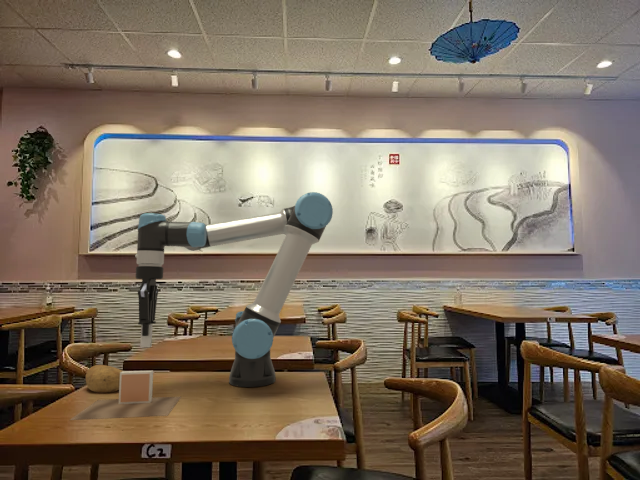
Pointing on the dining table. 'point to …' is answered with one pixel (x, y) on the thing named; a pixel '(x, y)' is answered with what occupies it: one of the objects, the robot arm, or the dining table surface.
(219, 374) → the dining table surface
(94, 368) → the potato
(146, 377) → the tile
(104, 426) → the dining table surface
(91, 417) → the board
